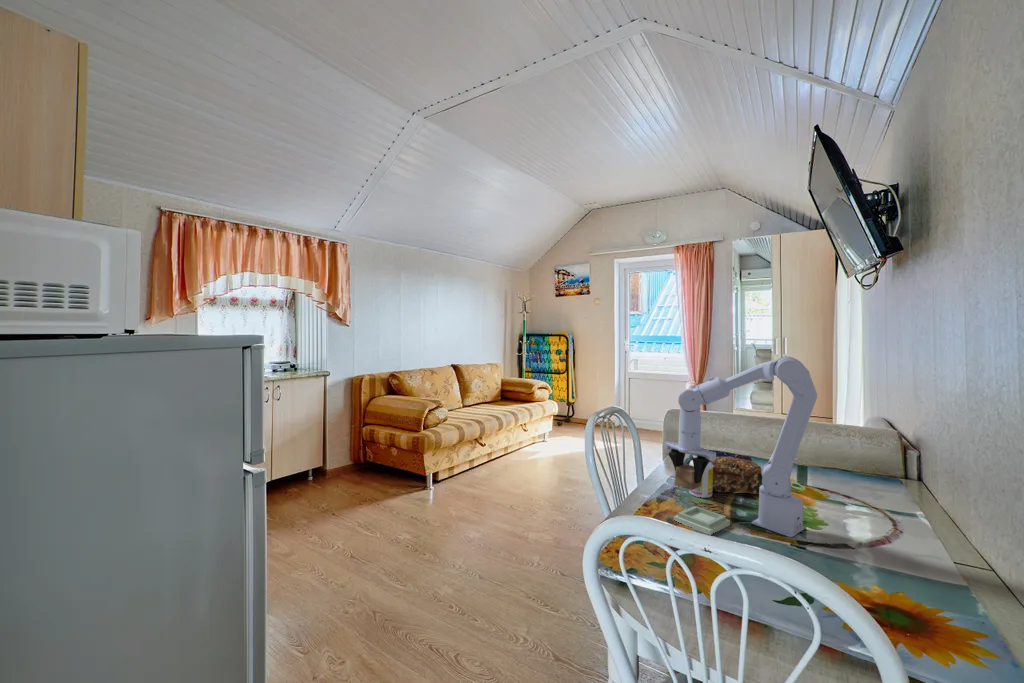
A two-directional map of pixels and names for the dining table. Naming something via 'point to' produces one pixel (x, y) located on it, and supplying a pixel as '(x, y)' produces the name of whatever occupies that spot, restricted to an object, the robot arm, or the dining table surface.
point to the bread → (736, 475)
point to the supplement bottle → (704, 482)
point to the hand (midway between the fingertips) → (688, 479)
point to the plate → (702, 520)
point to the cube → (686, 477)
